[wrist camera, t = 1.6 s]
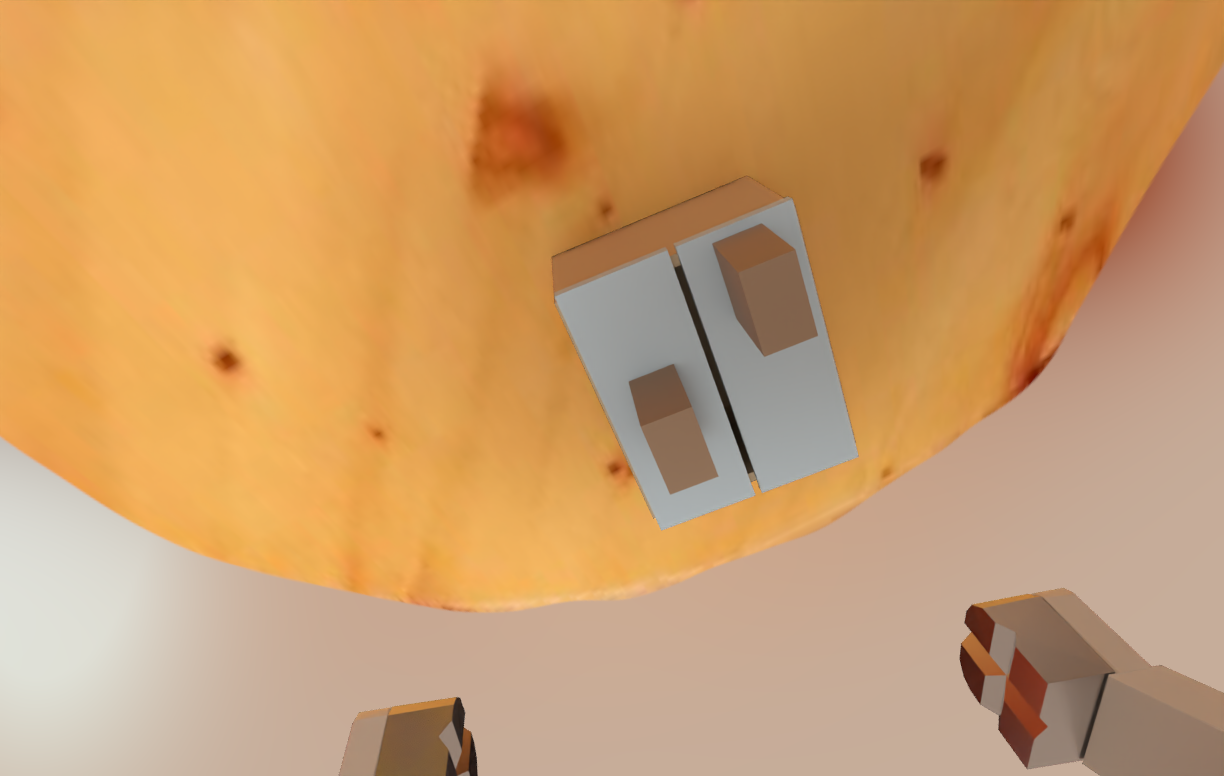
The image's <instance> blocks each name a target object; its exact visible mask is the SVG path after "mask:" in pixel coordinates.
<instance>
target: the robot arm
mask: <svg viewBox="0 0 1224 776" xmlns="http://www.w3.org/2000/svg"><path fill="white" fill-rule="evenodd" d="M965 624H966V626H967V627H968V628H969V629H970V631H971V633H970V634H969V635H968V636H967V638H966V639H965V640H964V641H963V642H962V643H961V650H960V663H961V667H962V671H963V676H964V678H965V680H966V682H967V684H968V686H969V688H970V690H971V692H972V693H973V695H974V696H975V698H976V699H977V701H978V702H979V703H980V705H982V706H984V707H986V708H987V709H989V710H991V711H992V712H994V713H996V714H998V715H999V725H998V726H999V727H998V730H999V731H1000V733H1001V734H1002V735H1003V737H1004V738H1005V739H1006V741H1007V742H1008V744H1009V745H1010V746H1011V748H1012V749H1013V751H1014V752H1015V753H1016V755H1017V756H1018V757H1019V759H1020V760H1021V762H1022V763H1023V764H1024V766H1025V767H1026V768H1027V769H1032V768H1038V767H1045V766H1051V765H1057V764H1063V763H1069V762H1076V761H1082V760H1083V763H1082V764H1084V765H1085V766H1087V767H1088V768H1089V769H1091V770H1092V771H1094V772H1095V773H1097V774H1098V775H1100V776H1224V693H1223V692H1220V691H1218V690H1216V689H1214V688H1211V687H1209V686H1207V685H1205V684H1202V683H1200V682H1198V681H1196V680H1193V679H1191V678H1189V677H1187V676H1184V675H1182V674H1180V673H1178V672H1176V671H1173V670H1171V669H1169V668H1167V667H1164V666H1162V665H1159V666H1153V667H1152V666H1151V665H1150V664H1148V663H1147V662H1146V661H1145V660H1144V659H1143V658H1142V657H1141V656H1140V655H1139V654H1138V653H1137V652H1136V651H1134V650H1133V649H1132V648H1131V647H1130V646H1129V645H1128V644H1127V643H1126V642H1125V641H1124V640H1123V639H1122V638H1121V637H1120V636H1119V635H1118V634H1117V633H1116V632H1114V631H1113V630H1112V629H1111V628H1110V627H1109V626H1108V625H1107V624H1106V623H1105V622H1104V621H1103V620H1102V619H1101V618H1100V617H1099V616H1098V615H1096V614H1095V613H1094V612H1093V611H1092V610H1091V609H1090V608H1089V607H1088V606H1087V605H1086V604H1085V603H1084V602H1082V600H1081V599H1079V598H1078V597H1077V596H1076V595H1075V594H1074V593H1073V592H1071V591H1069V590H1067V589H1065V588H1061V589H1055V590H1049V591H1044V592H1038V593H1034V594H1025V595H1020V596H1014V597H1010V598H1004V599H999V600H994V601H988V602H983V603H978V604H973V605H971V606H970V608H969V609H968V610H967V611H966V617H965ZM464 720H465V710H464V707H463V705H462V702H461V699H460V698H459V697H454V698H448V699H441V700H435V701H428V702H421V703H415V704H408V705H401V706H394V707H391V708H384V709H378V710H372V711H365V712H359V714H358V715H357V717H356V718H355V720H354V722H353V723H352V727H351V731H350V735H349V739H348V743H347V746H346V750H345V754H344V757H343V761H342V765H341V769H340V772H339V776H478V774H477V756H476V750H475V744H474V740H473V737H472V733H471V732H470V731H469V730H467V729H465V728H464Z"/></svg>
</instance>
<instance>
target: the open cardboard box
mask: <svg viewBox="0 0 1224 776" xmlns="http://www.w3.org/2000/svg"><path fill="white" fill-rule="evenodd" d="M781 199H783V197H781V196H779V195H778V194H776V193H775V192H773V191H771V190H770V189H768V188H766V187H765V186H763V185H761V184H760V183H758V182H756V181H755V180H753V179H752V178H750V177H748V176H745V177H743V178H740V179H738V180H736V181H733V182H731V183H728V184H726V185H724V186H721V187H719V188H716V189H714V190H711V191H709V192H707V193H704V194H702V195H699V196H697V197H695V198H692V199H690V200H687V201H685V202H683V203H680V204H678V205H675V206H673V207H671V208H668V209H666V210H663V211H661V212H659V213H656V214H654V215H651V216H649V217H647V218H644V219H642V220H639V221H637V222H635V223H632V224H630V225H627V226H625V227H622V228H620V229H618V230H615V231H613V232H610V233H608V234H606V235H603V236H601V237H598V238H596V239H594V240H591V241H589V242H586V243H584V244H582V245H579V246H577V247H574V248H572V249H570V250H567V251H565V252H562V253H560V254H558V255H555V256H553V257H552V272H553V288H554V292H557V291H559V290H561V289H564V288H566V287H569V286H571V285H574V284H576V283H579V282H581V281H583V280H586V279H588V278H591V277H593V276H596V275H598V274H600V273H603V272H605V271H608V270H610V269H613V268H615V267H617V266H620V265H622V264H625V263H627V262H630V261H632V260H635V259H637V258H639V257H642V256H644V255H647V254H649V253H652V252H654V251H656V250H659V249H661V248H664V247H666V249H667V250H668V253H669V256H670V259H671V261H672V264H673V267H674V270H675V273H676V275H677V278H678V281H679V284H680V287H681V289H682V292H683V295H684V298H685V300H686V303H687V306H688V309H689V312H690V314H691V317H692V320H693V323H694V326H695V328H696V331H697V334H698V337H699V340H700V342H701V345H702V348H703V351H704V353H705V356H706V359H707V362H708V365H709V367H710V370H711V373H712V376H713V379H714V381H715V384H716V387H717V390H718V393H719V395H720V398H721V401H722V404H723V407H724V409H725V412H726V415H727V418H728V420H729V423H730V426H731V429H732V432H733V434H734V437H735V440H736V443H737V446H738V448H739V451H740V454H741V457H742V460H743V462H744V465H745V468H746V471H747V473H748V476H749V479H750V482H753V481H755V480H757V479H756V477H755V474H754V471H753V468H752V465H751V462H750V460H749V457H748V454H747V451H746V448H745V445H744V443H743V440H742V437H741V434H740V431H739V428H738V426H737V423H736V420H735V417H734V414H733V411H732V408H731V406H730V403H729V400H728V397H727V394H726V391H725V389H724V386H723V383H722V380H721V377H720V374H719V372H718V369H717V366H716V363H715V360H714V357H713V355H712V352H711V349H710V346H709V343H708V340H707V338H706V335H705V332H704V329H703V326H702V323H701V320H700V318H699V315H698V312H697V309H696V306H695V303H694V301H693V298H692V295H691V292H690V289H689V286H688V284H687V281H686V278H685V275H684V272H683V269H682V267H681V264H680V261H679V258H678V255H677V252H676V250H675V247H674V244H673V243H676V242H678V241H681V240H683V239H686V238H688V237H691V236H693V235H695V234H698V233H700V232H703V231H705V230H708V229H710V228H712V227H715V226H717V225H720V224H722V223H725V222H727V221H729V220H732V219H734V218H737V217H739V216H742V215H744V214H747V213H749V212H751V211H754V210H756V209H759V208H761V207H764V206H766V205H768V204H771V203H773V202H776V201H778V200H781ZM794 206H795V205H794ZM795 210H796V207H795ZM796 214H797V211H796ZM797 218H798V215H797ZM798 222H799V219H798ZM799 226H800V222H799ZM800 230H801V226H800ZM801 234H802V230H801ZM802 237H803V234H802ZM803 241H804V238H803ZM804 245H805V242H804ZM805 249H806V246H805ZM806 253H807V250H806ZM807 257H808V254H807ZM808 261H809V258H808ZM809 265H810V262H809ZM810 269H811V265H810ZM811 273H812V269H811ZM812 276H813V273H812ZM813 280H814V277H813ZM814 284H815V281H814ZM815 288H816V285H815ZM816 292H817V289H816ZM817 296H818V293H817ZM818 300H819V297H818ZM554 304H555V306H556V308H557V310H558V312H559V314H560V317H561V319H562V321H563V323H564V325H565V327H566V330H567V332H568V334H569V336H570V338H571V340H572V343H573V345H574V347H575V349H576V351H577V354H578V356H579V358H580V360H581V362H582V364H583V367H584V369H585V371H586V373H587V375H588V377H589V380H590V382H591V384H592V386H593V388H594V391H595V393H596V395H597V397H598V399H599V401H600V404H601V406H602V408H603V410H604V412H605V414H606V417H607V419H608V421H609V423H610V425H611V428H612V430H613V432H614V434H615V436H616V438H617V441H618V443H619V445H620V447H621V449H622V451H623V454H624V456H625V458H626V460H627V462H628V464H629V467H630V469H631V471H632V473H633V475H634V478H635V480H636V482H637V484H638V486H639V488H640V491H641V493H642V495H643V497H644V499H645V501H646V504H647V506H648V508H649V510H650V512H651V515H652V517H653V519H654V518H655V516H654V513H653V511H652V509H651V507H650V505H649V502H648V500H647V498H646V496H645V494H644V492H643V489H642V487H641V485H640V483H639V481H638V478H637V476H636V474H635V472H634V470H633V468H632V465H631V463H630V461H629V459H628V457H627V454H626V452H625V450H624V448H623V446H622V443H621V441H620V439H619V437H618V435H617V433H616V430H615V428H614V426H613V424H612V422H611V419H610V417H609V415H608V413H607V411H606V408H605V406H604V404H603V402H602V400H601V398H600V395H599V393H598V391H597V389H596V387H595V384H594V382H593V380H592V378H591V376H590V374H589V371H588V369H587V367H586V365H585V363H584V360H583V358H582V356H581V354H580V352H579V349H578V347H577V345H576V343H575V341H574V339H573V336H572V334H571V332H570V330H569V328H568V325H567V323H566V321H565V319H564V317H563V314H562V312H561V310H560V308H559V306H558V304H557V301H556V299H555V297H554ZM819 304H820V301H819ZM820 308H821V305H820ZM821 312H822V308H821ZM822 315H823V312H822ZM823 319H824V316H823ZM824 323H825V320H824ZM825 327H826V324H825ZM826 331H827V328H826ZM827 335H828V332H827ZM828 339H829V336H828ZM829 343H830V340H829ZM830 347H831V344H830ZM831 351H832V348H831ZM832 354H833V351H832ZM833 358H834V355H833ZM834 362H835V359H834ZM835 366H836V363H835ZM836 370H837V367H836ZM837 374H838V371H837ZM838 378H839V375H838ZM839 382H840V379H839ZM840 386H841V383H840ZM841 390H842V387H841ZM842 393H843V391H842ZM843 397H844V394H843ZM844 401H845V398H844ZM845 405H846V402H845ZM846 409H847V406H846ZM847 413H848V410H847ZM848 417H849V414H848ZM849 421H850V418H849ZM850 425H851V422H850ZM851 429H852V426H851ZM852 432H853V430H852ZM853 436H854V434H853ZM854 440H855V437H854ZM855 443H856V441H855Z"/></svg>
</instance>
